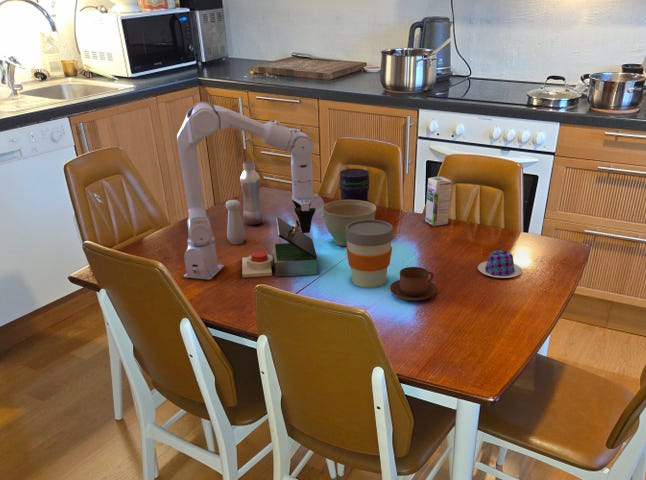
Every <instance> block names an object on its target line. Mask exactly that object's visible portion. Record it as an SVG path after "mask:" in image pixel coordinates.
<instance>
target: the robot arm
mask: <svg viewBox="0 0 646 480" xmlns="http://www.w3.org/2000/svg"><path fill="white" fill-rule="evenodd" d="M218 128H219V129H220V131H223V130H226V129H229V128H233V129H237V130H240V131H243V132H245V133H249V134H252V135H255V136H257V137H259V138H261V141H262V143H263V144H265V145H267V146H270V147H273V148H275V149H278V150H281V151H284V152H291V153H290V161H291V162H290V171H291V173H290V174H291V190H292V191H291V192H292V194H291V195H292V196H291V200H292V201H291V202H292V203H293V204H294V206H295V207H294V209H293V210H294V213H295V214H296V216H297V218H298V222H299V226H300V232H302V233H304V234H309V233H311V227H312V221H313V217H314V215H315V213H316V208H315V207H311V205H312V202H313V201H314V199H318V198H319V195H318V193H314V171H313V170H314V169H313V161H312V160H313V154H314V151H315V146H314V143H313V141H312V140H311V138H310V137H309V136H308V135H307V134H306V133H305V132H303V131H302V130H298V129H297V128H295V127H294V128H293V129H292V128H290V127H287V126H284V125H282V123H281V122H280V121H279V120H274V121H267V122H265V123H262V122H260V121H258V120H255V119H253V118H250V117H248V116H246V115H244V114H241V113H239V112H236V111H234V110H232V109H229V108H226V107H224V106H221V105H217V104H213V105H212V104H211V103H209V102H206V101H199V102H197V103H195V104H194V105H193V106H191V108H190V109H189V110H188V111H187V112H186V115H185V118H184V120H183V122H182V124H181V127H180V128H179V131H178V133H177V134H176V143H177V149H178V150H177V151H178V155H179V156H178V157H179V162H180V169H181V175H182V181H183V187H184V192H185V193H184V194H185V198H186V204H187V211H188V217H187V219H186V220H187V221H186V226H187V228H188V229H187V230H188V231H187V235H188V238H187V249H186V250H185V252H184V254H183V261H184V266H185V267H184V268H185V273H184V274H183V277H184V278H187V279H188V278H189V279H197V280H208V281H209V280H212V279H213V278H214V277H215V276H216V275H217V274H218V273H219V272H221V270H223V268H224V267H225V265H224V264H219V263H218V255H217V247H216V240H215V236H214V235H213V233H214V232H213V229H212V226H211V225H212V224H211V219H210V217H209V216H208V215H207V211H206V205H205V199H204V198H205V197H204V192H203V184H202V177H201V172H200V166H199V164H200V163H199V158H198V152H197V151H198V150H197V146H198V145H199V144H200V143H201V142H202V141H203V140H204V139H205V138H207V137H209V136H211V135H213V134H215V132H216V131H217V130H218Z"/></svg>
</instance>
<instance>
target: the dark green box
mask: <svg viewBox="0 0 646 480" xmlns="http://www.w3.org/2000/svg"><path fill="white" fill-rule="evenodd" d="M272 252H273V253H272V254H273V265H274V272H275V273H274V274H275V278H282V277H283V278H284V277H297V276H313V275H318V258H317V259H315V258H313V257H311V256H310V255H308V254H306V253H305V252H303V251H302V250H300V249H298V248H297V247H295V246H294V245H292V244H290V243H289V242H273V243H272Z"/></svg>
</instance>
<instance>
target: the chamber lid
mask: <svg viewBox="0 0 646 480" xmlns="http://www.w3.org/2000/svg"><path fill="white" fill-rule="evenodd" d="M275 220H276V228H277V236H278V237H279V238H281V239H282V240H284V241H285V242H286V243H288V242H289V243H290V244H292V245H294V246H295V247H297V248H298V249H300V250H302V251H303V252H305V253H306V254H308V255H310V256H311V257H313V258H315V259H317V260H318V256H317V252H316V248H315V244H314V241H313V238H311V237H310V236H308V235H307V234H306V233H302V231H301V227H300V222H299V220H297V219H295V220H293V222H292V225H291V224H289V223H288V222H287V221H285V220H284V219H282V218H280V217H278V216H276V217H275Z"/></svg>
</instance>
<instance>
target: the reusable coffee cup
mask: <svg viewBox="0 0 646 480" xmlns="http://www.w3.org/2000/svg"><path fill="white" fill-rule="evenodd" d="M345 239H346V240H347V246H345V247H346V249H345V250H346V256H347V263H348V266H349V267H350V272H351V278H352V279H351V280H352V281H351V282H352V283H353V285H355V286H358V287H361V288H368V289H369V288H370V289H371V288H378V287H381V286H383V285H384V284H385V283H386V280H387V274H388V267H389V266H390V264H391V259H392V252H393V247H392V242H393V240H394V230H393V225H392V224H391V223H390V222H388V221H384V220H381V219H375V220H358V221H354V222H351V223H349V224H348V225H347V226H346V235H345Z"/></svg>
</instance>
